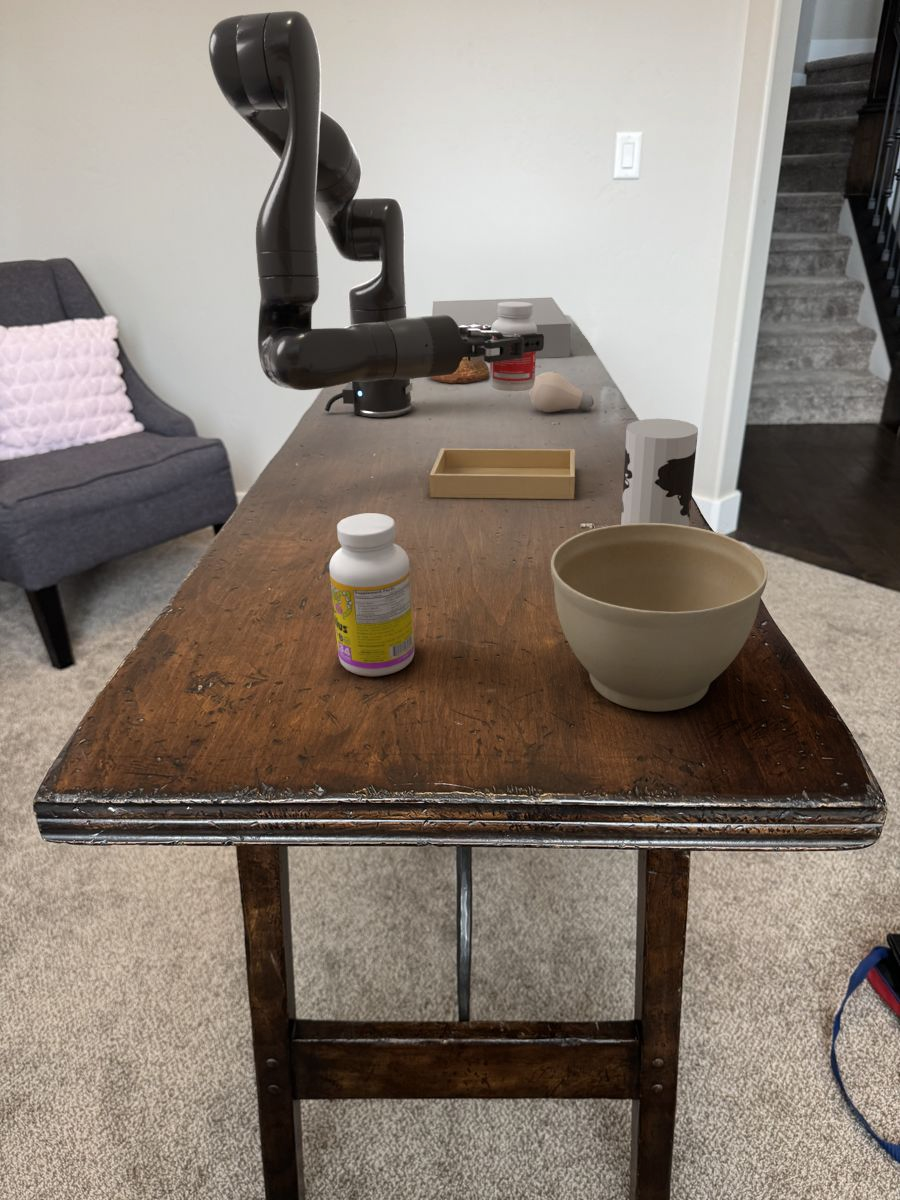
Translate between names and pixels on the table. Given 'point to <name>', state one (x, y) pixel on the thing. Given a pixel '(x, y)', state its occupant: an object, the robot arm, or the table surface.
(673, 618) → the planter bowl
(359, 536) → the supplement bottle
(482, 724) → the table surface
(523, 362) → the pill bottle
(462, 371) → the brown domed piece
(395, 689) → the table surface
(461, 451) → the tray
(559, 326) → the box
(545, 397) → the light bulb
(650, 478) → the grey patterned cylinder
